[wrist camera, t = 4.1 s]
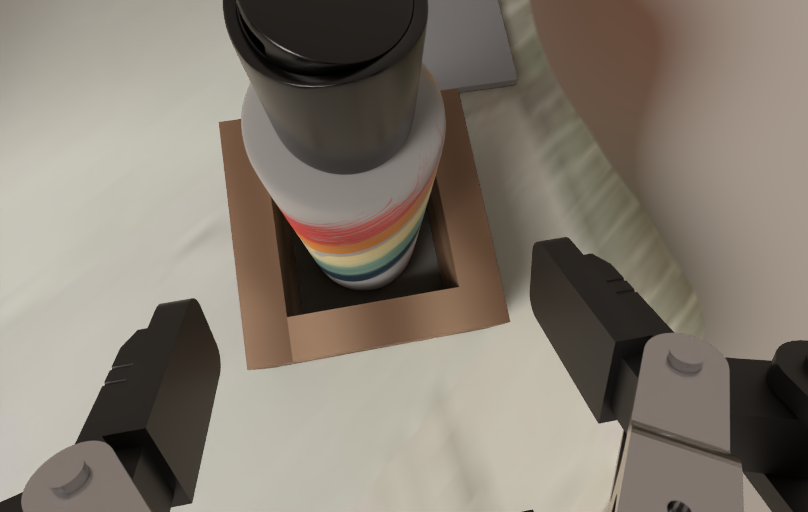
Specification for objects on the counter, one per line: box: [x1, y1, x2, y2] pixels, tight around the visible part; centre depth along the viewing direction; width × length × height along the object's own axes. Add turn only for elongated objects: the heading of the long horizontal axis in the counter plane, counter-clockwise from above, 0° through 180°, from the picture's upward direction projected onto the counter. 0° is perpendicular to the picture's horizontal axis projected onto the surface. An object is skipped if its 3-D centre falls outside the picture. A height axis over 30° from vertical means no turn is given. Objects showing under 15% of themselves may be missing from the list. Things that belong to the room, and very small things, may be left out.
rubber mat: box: [422, 0, 518, 93], centre depth 31 cm, size 12×11×1 cm
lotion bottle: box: [223, 0, 446, 291], centre depth 18 cm, size 6×6×20 cm
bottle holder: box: [219, 88, 510, 370], centre depth 25 cm, size 12×12×5 cm
